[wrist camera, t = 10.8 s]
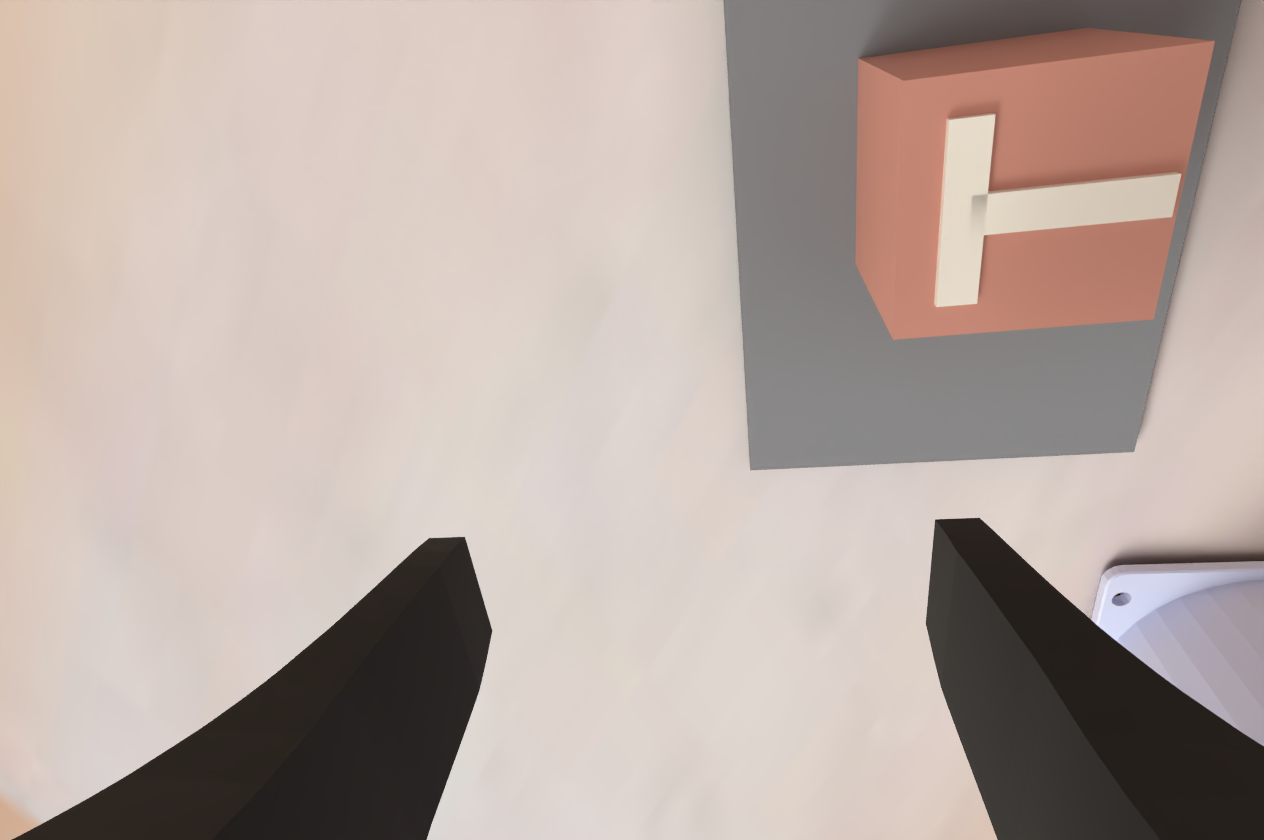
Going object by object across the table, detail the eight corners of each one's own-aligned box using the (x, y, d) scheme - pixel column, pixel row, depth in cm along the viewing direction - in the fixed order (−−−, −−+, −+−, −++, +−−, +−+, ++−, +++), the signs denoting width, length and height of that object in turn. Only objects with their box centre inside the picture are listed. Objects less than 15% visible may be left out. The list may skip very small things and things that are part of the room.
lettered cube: (1056, 245, 17) (1158, 323, 13) (855, 264, 18) (894, 342, 14) (1087, 27, 15) (1221, 41, 11) (858, 58, 16) (905, 81, 12)
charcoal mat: (1126, 443, 20) (1134, 451, 20) (749, 462, 22) (750, 470, 21) (1317, -383, 12) (1334, -394, 12) (709, -266, 14) (708, -273, 13)
